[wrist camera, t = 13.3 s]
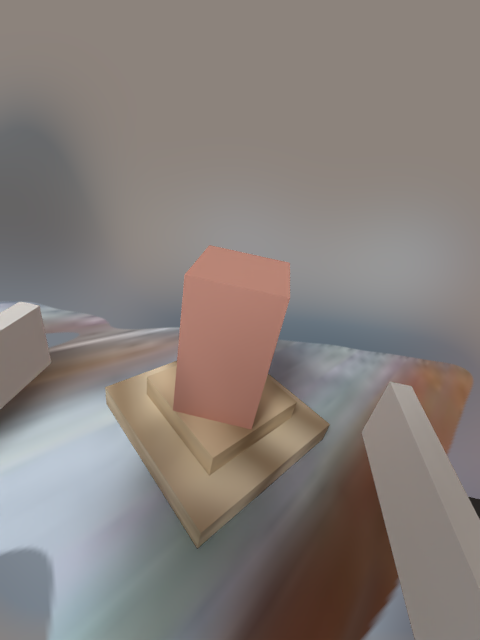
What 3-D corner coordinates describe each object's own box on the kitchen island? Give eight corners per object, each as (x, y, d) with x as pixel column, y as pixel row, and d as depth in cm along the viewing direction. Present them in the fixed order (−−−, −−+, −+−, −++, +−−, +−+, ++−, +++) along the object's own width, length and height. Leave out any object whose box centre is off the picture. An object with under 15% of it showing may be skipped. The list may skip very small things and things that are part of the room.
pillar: (258, 376, 27) (289, 262, 22) (251, 429, 22) (290, 298, 17) (194, 361, 28) (209, 245, 22) (172, 410, 22) (184, 274, 17)
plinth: (226, 355, 36) (231, 327, 34) (322, 438, 28) (337, 408, 26) (106, 403, 27) (104, 369, 25) (197, 548, 19) (204, 515, 17)
